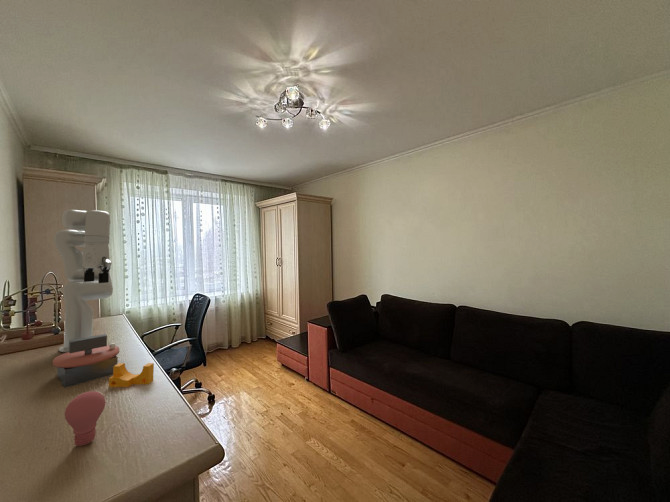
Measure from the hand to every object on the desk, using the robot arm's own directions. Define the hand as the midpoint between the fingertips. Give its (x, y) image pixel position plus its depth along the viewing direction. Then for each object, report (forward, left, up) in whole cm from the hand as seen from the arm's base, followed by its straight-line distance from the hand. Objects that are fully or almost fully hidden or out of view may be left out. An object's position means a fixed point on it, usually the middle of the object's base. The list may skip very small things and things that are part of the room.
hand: (96, 282), depth 107 cm
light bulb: (+57, -13, -34) cm, 67 cm away
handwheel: (+11, -4, -27) cm, 29 cm away
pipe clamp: (+32, +4, -34) cm, 47 cm away
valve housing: (+11, -4, -33) cm, 35 cm away
